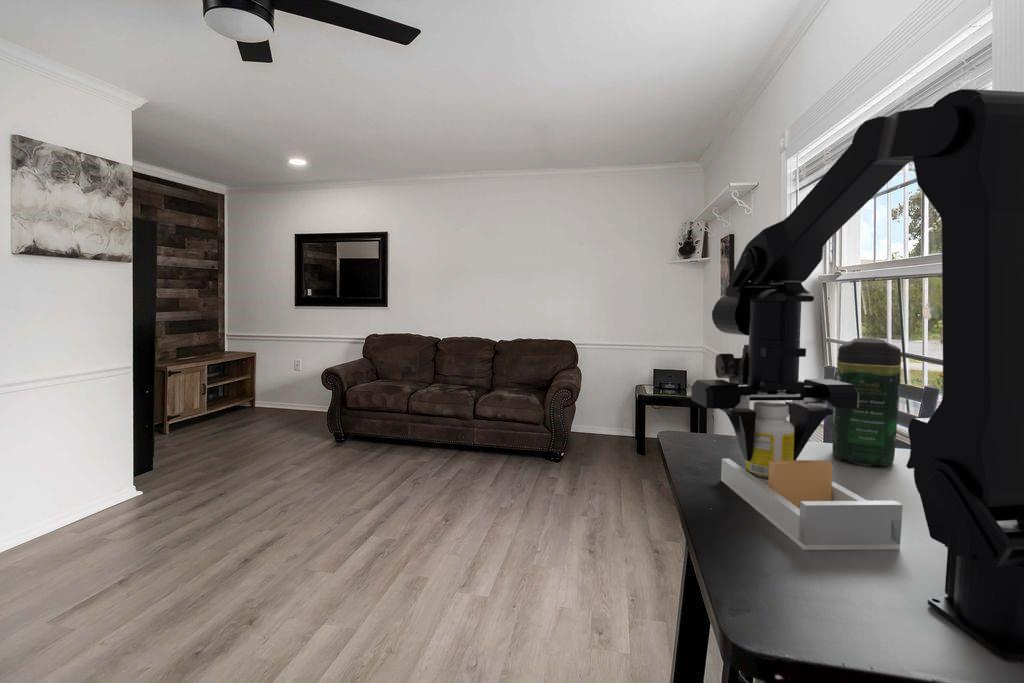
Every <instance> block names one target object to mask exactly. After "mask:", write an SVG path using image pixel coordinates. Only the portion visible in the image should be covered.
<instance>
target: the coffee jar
mask: <svg viewBox="0 0 1024 683" xmlns="http://www.w3.org/2000/svg"><path fill="white" fill-rule="evenodd" d="M837 349H838V350H837V351H838V353H837V354H838V355H837V366H836V379H835V380H836V381H840V382H845V383H849V384H853V385H854V386H855V388H856V389H857V391H858V393H859V407H858V408H834V414H833V415H834V416H833V417H834V419H833V430H832V433H833V434H832V453H833V455H834V457H835V458H837V459H840V460H844V461H847V462H852V463H853V464H854V465H855V464H856V465H859V466H865V467H866V466H867V467H872V466H883V467H888V466H891V465H892V464H893V462H894V460H895V456H896V454H895V453H896V443H897V426H898V417H899V407H900V391H901V370H902V349H901V348H900V347H898V346H896V345H894V344H892V343H889V342H887V341H886V340H885V339H882V338H876V337H861V338H860V337H858V338H854V339H852V340H850V341H847V342H844V343H841V344H840V345H839V347H838V348H837Z"/></svg>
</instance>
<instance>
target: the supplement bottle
mask: <svg viewBox="0 0 1024 683" xmlns="http://www.w3.org/2000/svg"><path fill="white" fill-rule="evenodd" d="M752 410H754V411H756V422H755V433H754V445H753V453H752V457H751V461H747V460H745V461H746V462H745V463H746V464H745V470H746V471H747V472H749V473H750V474H752V475H753V476H754V477H756V478H757V479H759V480H760V481H761V482H763V483H764V484H767V485H768V481H769V460H794V426H793V425H792V424H791V423H790V422H789V420H787V418H788V417H789V406H788V405H787V404H786V403H785V402H778V401H754V402H753V409H752Z"/></svg>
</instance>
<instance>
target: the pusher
mask: <svg viewBox="0 0 1024 683" xmlns="http://www.w3.org/2000/svg"><path fill="white" fill-rule="evenodd" d="M832 481H833V463H832V462H831V461H829V460H827V459H813V460H812V459H810V460H808V459H806V460H804V459H801V460H800V459H798V460H797V459H796V460H769V481H768V487H770V488H771V489H773V490H774V491H775V492H777V493H778V494H780V495H781V496H782V497H784V498H785V499H787V500H788V501H789V502H791V503H792V504H794V505H795V506H800V501H831V489H832Z"/></svg>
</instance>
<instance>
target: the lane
mask: <svg viewBox="0 0 1024 683" xmlns="http://www.w3.org/2000/svg"><path fill="white" fill-rule="evenodd" d="M720 474H721V475H720V476H721V477H720V480H721V482H723V483H724V484H725V485H726V486H727V487H728V488H729V489H731V490H732V491H733V492H734V493H735V494H737V495H738V496H739V497H740V498H742V499H743V500H744V501H745V502H747V503H748V504H749V505H750V506H752V508H753V509H755V511H756V512H758V513H759V514H761V515H762V516H763V517H764V518H765V519H766V520H768V522H770V523H771V524H773V525H774V527H776V528H777V529H778V530H780V531H781V532H782V533H783V534H784V535H785V536H787V537H788V538H789V539H791V541H792V542H793V543H795V544H796V545H797V546H799V548H801V549H802V550H803V551H837V550H838V551H851V550H853V551H854V550H855V551H860V550H861V551H865V550H867V551H868V550H869V551H872V550H873V551H875V550H878V551H879V550H882V551H883V550H886V551H887V550H890V551H891V550H901V539H902V537H901V535H902V522H903V505H904V504H903V503H900V502H898V501H896V500H867V499H865V498H864V497H862V496H860V495H858V494H856V493H854V492H853V491H851V490H849V489H847V488H846V487H844V486H841V485H840V484H838V483H836V482H835V481H833V480H832V489H831V501H800V506H795V505H794V504H792V503H791V502H789V501H788V500H787V499H785V498H784V497H782V496H781V495H780V494H778V493H777V492H775V491H774V490H773V489H771V488H770V487H768V485H767V484H764V483H763V482H761V481H760V480H759V479H757V478H756V477H754V476H753V475H752V474H750V473H749V472H747V471H746V468H743V467H742V466H740V465H739V464H738V463H736V462H735V461H734V460H732V459H730V458H721V472H720Z"/></svg>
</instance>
